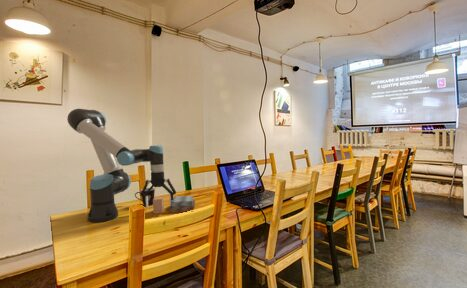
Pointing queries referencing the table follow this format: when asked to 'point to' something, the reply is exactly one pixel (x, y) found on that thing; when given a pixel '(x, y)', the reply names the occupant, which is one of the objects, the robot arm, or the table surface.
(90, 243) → the table surface
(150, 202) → the coffee mug
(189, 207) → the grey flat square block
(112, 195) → the robot arm
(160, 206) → the top brick
